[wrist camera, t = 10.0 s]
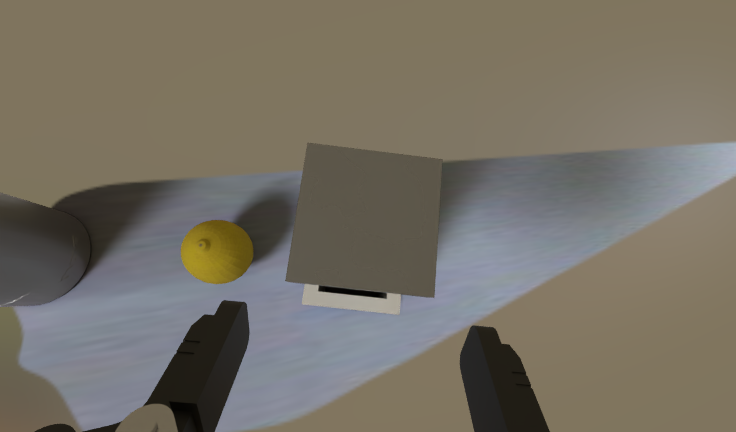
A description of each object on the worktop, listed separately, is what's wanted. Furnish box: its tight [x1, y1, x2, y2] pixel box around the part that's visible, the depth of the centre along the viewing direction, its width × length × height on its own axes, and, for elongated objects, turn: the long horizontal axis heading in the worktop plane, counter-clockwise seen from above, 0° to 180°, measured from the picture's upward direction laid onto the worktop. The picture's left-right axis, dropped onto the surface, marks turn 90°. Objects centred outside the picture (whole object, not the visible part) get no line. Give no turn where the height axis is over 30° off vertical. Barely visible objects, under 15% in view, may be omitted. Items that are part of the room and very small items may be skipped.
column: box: [285, 143, 442, 298], centre depth 20 cm, size 5×5×17 cm
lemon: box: [181, 220, 253, 284], centre depth 30 cm, size 6×6×8 cm
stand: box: [302, 284, 401, 315], centre depth 29 cm, size 8×8×12 cm
